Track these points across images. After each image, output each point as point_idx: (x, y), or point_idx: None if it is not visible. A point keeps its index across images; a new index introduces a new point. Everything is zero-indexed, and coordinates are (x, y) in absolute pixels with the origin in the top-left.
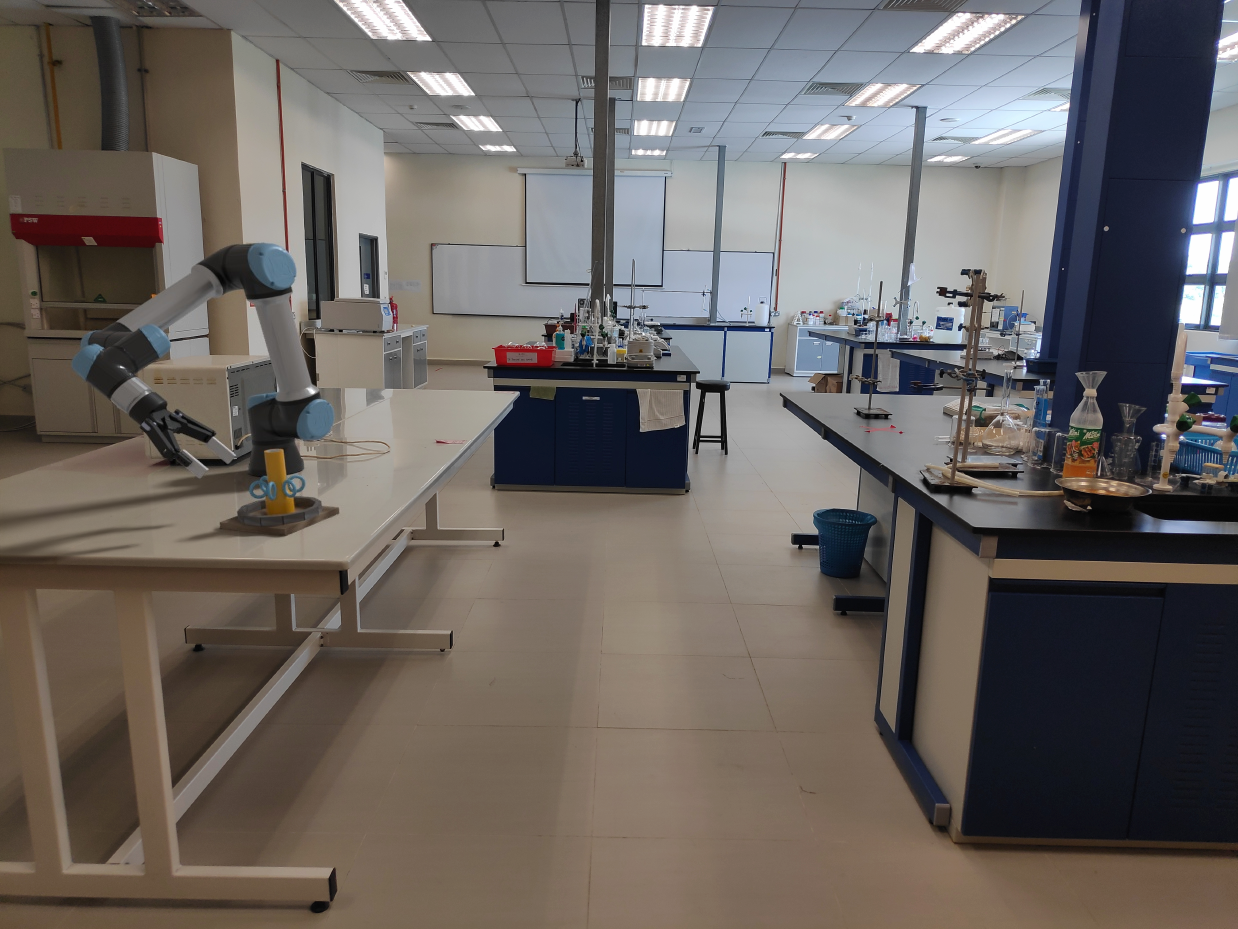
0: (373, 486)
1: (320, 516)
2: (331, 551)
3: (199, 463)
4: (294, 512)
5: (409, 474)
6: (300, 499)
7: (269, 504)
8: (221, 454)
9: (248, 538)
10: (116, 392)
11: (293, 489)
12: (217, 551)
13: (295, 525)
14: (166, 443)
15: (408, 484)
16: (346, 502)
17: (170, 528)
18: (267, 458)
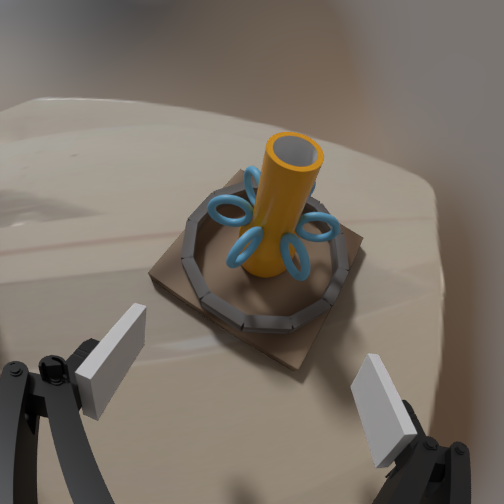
0: (85, 147)
1: None
2: (413, 191)
3: (387, 375)
4: None
5: (53, 121)
6: (205, 216)
7: (293, 255)
8: (128, 357)
9: (365, 299)
10: None
11: (313, 188)
12: (420, 330)
13: (340, 224)
14: (465, 475)
15: (105, 114)
16: (167, 170)
17: (263, 475)
18: (315, 178)
